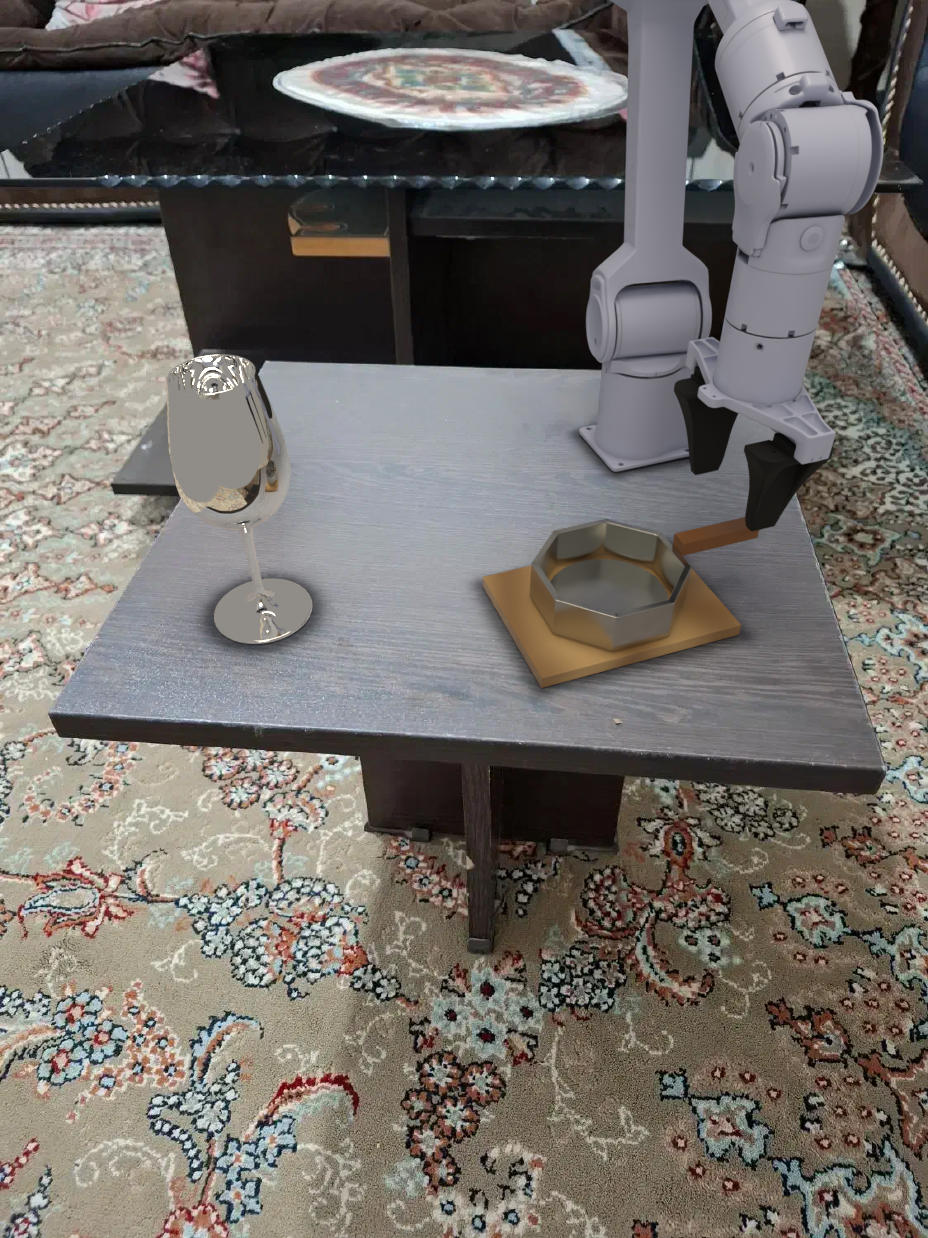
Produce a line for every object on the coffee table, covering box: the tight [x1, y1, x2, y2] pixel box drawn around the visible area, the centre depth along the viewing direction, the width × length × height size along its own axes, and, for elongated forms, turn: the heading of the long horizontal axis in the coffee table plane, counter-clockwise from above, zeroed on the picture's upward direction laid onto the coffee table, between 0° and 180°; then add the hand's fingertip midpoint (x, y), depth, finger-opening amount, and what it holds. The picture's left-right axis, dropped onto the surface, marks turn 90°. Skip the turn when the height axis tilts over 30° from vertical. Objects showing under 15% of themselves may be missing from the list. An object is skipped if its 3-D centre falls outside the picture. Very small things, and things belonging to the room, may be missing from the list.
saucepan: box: [530, 516, 760, 651], centre depth 68 cm, size 18×11×4 cm, turn 109°
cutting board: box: [482, 555, 742, 689], centre depth 69 cm, size 16×12×1 cm
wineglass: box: [166, 353, 314, 645], centre depth 63 cm, size 8×8×20 cm
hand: (731, 497), depth 66 cm, fingers open, 7 cm apart
